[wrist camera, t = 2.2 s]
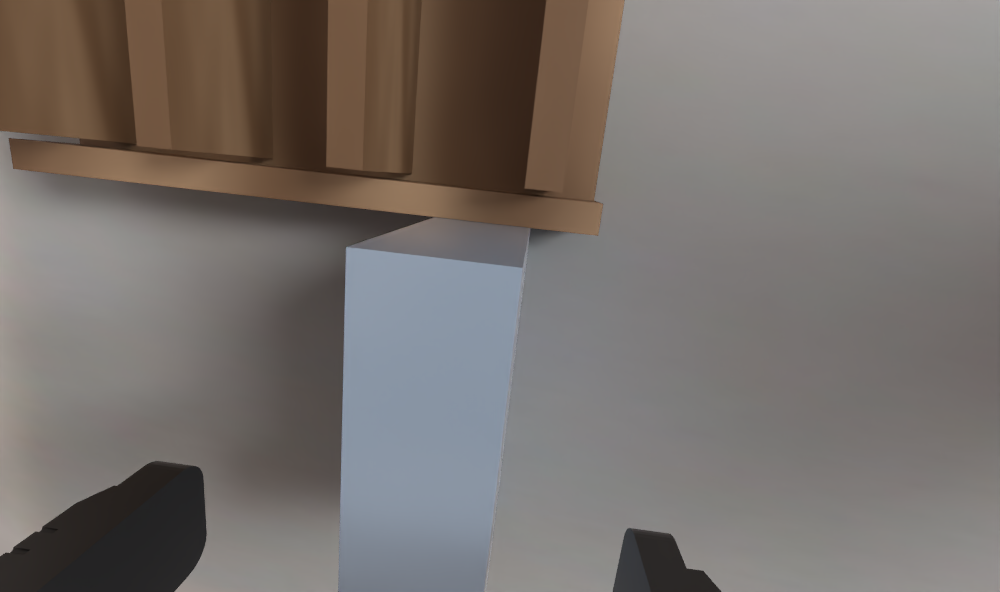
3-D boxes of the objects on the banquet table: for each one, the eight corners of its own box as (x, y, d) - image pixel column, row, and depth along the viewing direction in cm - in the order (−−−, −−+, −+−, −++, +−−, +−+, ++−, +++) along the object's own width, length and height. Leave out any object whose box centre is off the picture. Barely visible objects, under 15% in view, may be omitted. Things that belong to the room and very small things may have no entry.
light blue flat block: (531, 218, 15) (523, 267, 6) (497, 504, 18) (457, 814, 9) (456, 209, 15) (345, 246, 6) (433, 495, 18) (333, 792, 9)
